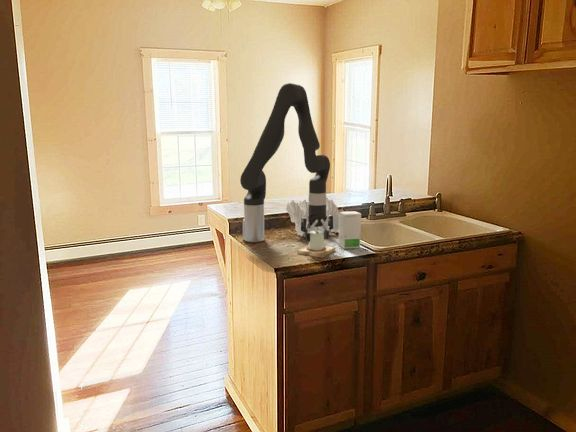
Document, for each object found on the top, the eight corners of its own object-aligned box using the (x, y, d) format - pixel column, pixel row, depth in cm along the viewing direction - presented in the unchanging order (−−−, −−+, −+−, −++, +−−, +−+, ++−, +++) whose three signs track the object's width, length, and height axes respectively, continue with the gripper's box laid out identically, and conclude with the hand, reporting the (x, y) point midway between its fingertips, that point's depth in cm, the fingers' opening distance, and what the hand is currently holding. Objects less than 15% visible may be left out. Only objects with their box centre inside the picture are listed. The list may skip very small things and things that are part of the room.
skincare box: (343, 249, 220) (344, 214, 217) (337, 245, 227) (338, 211, 223) (360, 247, 223) (362, 213, 219) (354, 244, 229) (355, 210, 226)
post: (297, 253, 214) (297, 239, 213) (309, 246, 224) (310, 233, 223) (322, 257, 208) (323, 243, 207) (334, 250, 218) (335, 236, 217)
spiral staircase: (340, 241, 249) (294, 244, 238) (326, 220, 261) (282, 222, 251) (351, 211, 238) (303, 213, 228) (335, 190, 251) (290, 191, 241)
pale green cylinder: (307, 246, 218) (307, 229, 217) (321, 246, 219) (321, 229, 218) (310, 250, 212) (311, 233, 211) (324, 249, 213) (325, 232, 212)
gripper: (328, 200, 218) (327, 236, 222) (298, 202, 213) (298, 239, 216) (336, 203, 211) (335, 240, 215) (305, 205, 206) (305, 244, 209)
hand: (317, 240), depth 215 cm, fingers open, 8 cm apart
